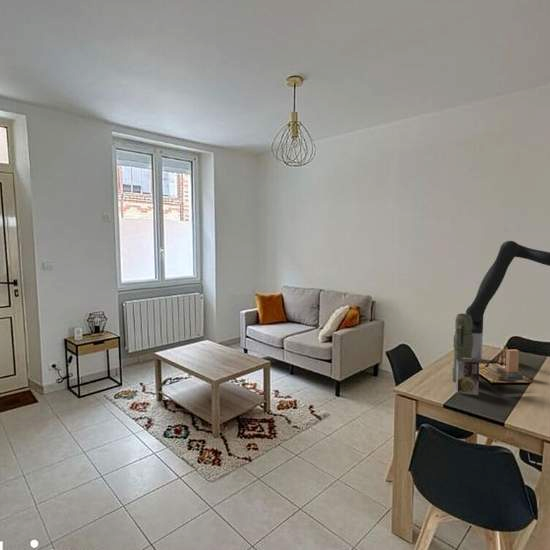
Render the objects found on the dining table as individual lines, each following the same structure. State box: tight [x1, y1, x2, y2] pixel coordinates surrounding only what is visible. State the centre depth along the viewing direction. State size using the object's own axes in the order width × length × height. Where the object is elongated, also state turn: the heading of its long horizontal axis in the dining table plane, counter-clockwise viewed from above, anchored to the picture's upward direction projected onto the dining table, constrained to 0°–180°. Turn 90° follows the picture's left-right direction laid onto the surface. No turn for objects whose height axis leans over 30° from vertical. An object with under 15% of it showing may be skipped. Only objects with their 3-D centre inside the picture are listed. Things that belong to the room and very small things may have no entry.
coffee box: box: [455, 357, 480, 396], centre depth 174 cm, size 9×6×16 cm
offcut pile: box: [486, 362, 509, 381], centre depth 189 cm, size 6×9×6 cm, turn 3°
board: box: [505, 348, 520, 373], centre depth 189 cm, size 5×2×14 cm, turn 93°
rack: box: [484, 369, 529, 382], centre depth 190 cm, size 16×11×4 cm
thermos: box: [452, 313, 473, 383], centre depth 187 cm, size 9×12×35 cm
